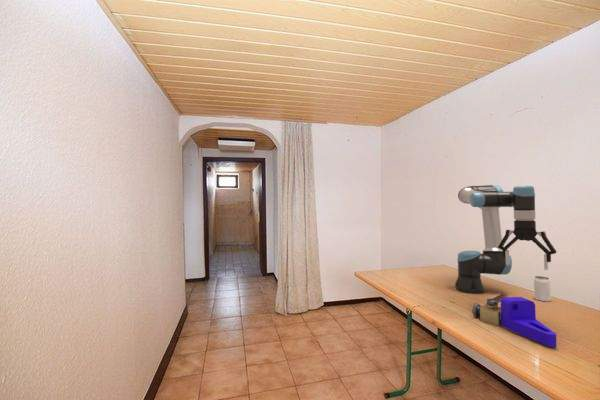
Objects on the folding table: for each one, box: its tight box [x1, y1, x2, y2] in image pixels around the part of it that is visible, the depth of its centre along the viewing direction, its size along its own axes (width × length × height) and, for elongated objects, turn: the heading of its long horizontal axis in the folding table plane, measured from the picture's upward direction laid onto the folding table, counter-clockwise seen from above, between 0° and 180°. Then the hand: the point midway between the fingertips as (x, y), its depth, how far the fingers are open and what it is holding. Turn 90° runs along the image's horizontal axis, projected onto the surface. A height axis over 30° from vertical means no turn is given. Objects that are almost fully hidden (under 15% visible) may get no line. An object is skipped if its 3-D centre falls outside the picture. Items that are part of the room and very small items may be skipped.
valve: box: [471, 302, 502, 327], centre depth 120 cm, size 14×7×7 cm, turn 34°
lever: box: [486, 293, 508, 307], centre depth 123 cm, size 15×4×2 cm, turn 124°
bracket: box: [500, 296, 557, 348], centre depth 106 cm, size 18×11×12 cm, turn 1°
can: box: [533, 275, 551, 303], centre depth 146 cm, size 6×6×12 cm
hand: (526, 267), depth 122 cm, fingers open, 13 cm apart
